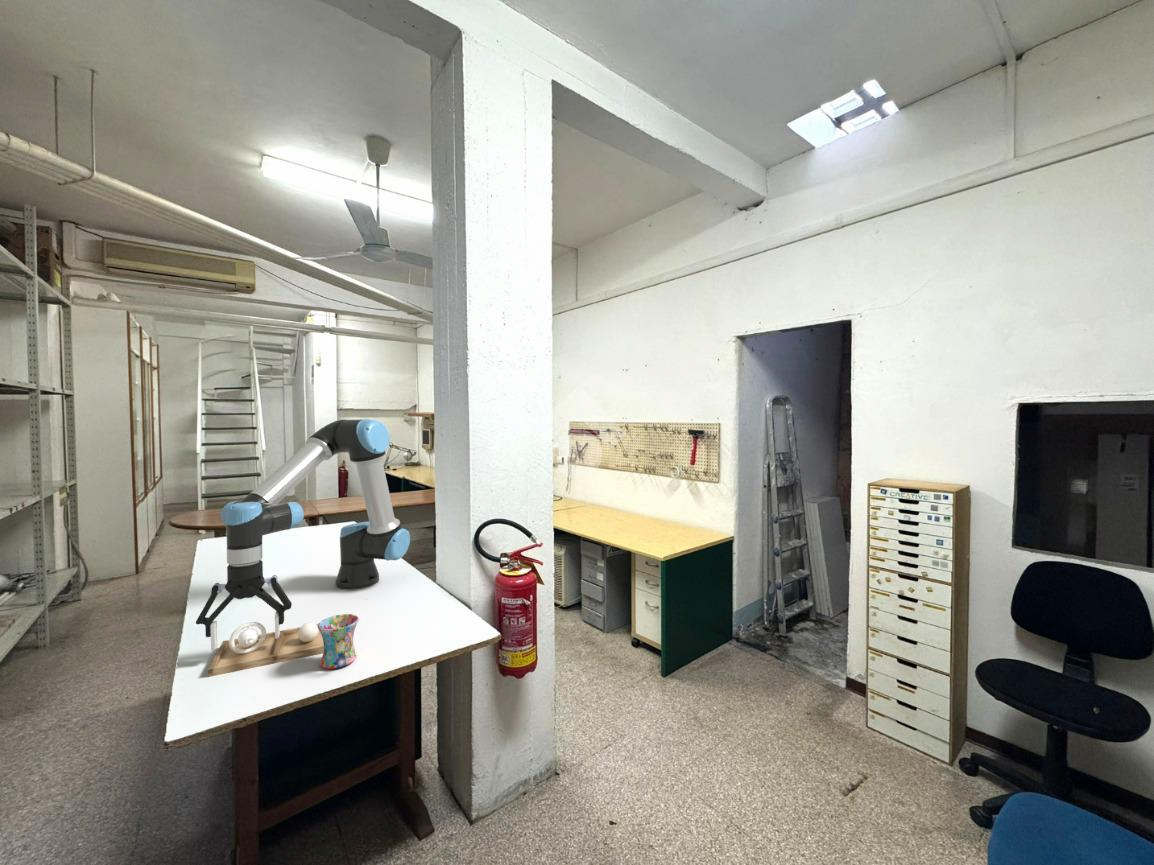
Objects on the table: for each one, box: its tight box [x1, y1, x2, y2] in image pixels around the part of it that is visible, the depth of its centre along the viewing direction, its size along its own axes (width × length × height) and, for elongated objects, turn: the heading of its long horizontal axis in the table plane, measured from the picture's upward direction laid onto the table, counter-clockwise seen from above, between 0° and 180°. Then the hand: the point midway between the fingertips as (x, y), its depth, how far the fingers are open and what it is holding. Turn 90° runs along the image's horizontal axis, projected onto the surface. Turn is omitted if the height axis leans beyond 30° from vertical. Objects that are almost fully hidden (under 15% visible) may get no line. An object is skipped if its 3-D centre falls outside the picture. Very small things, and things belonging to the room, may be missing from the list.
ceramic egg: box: [298, 622, 319, 642], centre depth 126 cm, size 5×5×5 cm
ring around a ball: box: [228, 621, 267, 654], centre depth 119 cm, size 8×6×8 cm
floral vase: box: [317, 613, 359, 670], centre depth 115 cm, size 12×9×11 cm
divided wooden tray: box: [207, 623, 324, 678], centre depth 123 cm, size 27×16×2 cm, turn 118°
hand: (246, 642), depth 119 cm, fingers open, 13 cm apart
